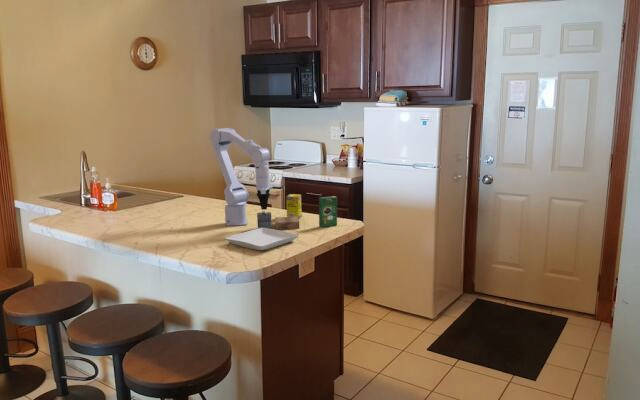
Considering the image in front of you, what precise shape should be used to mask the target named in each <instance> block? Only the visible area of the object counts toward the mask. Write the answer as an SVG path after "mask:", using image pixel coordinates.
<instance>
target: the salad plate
mask: <svg viewBox="0 0 640 400" xmlns="http://www.w3.org/2000/svg"><path fill="white" fill-rule="evenodd" d="M298 237H299V234H296V233H293V232H288V231H283V230H280V229H274V228H272V229H268V228H259V229H258V228H256V229H252V230H248V231H244V232H240V233H237V234H233V235H231V236H230V235H229V236H227V237H225V241H227V242H229V243H230V244H233V245H236V246H240V247H242V248H247V249H250V250H251V249H252V250H254V251H255V250H256V251H268V250H270V249H274V248H276V247H279V246H282V245H285V244H288V243H290V242H293V241H295V240H296V239H297V238H298Z"/></svg>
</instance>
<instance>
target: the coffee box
mask: <svg viewBox="0 0 640 400" xmlns="http://www.w3.org/2000/svg"><path fill="white" fill-rule="evenodd" d="M318 225H319V228H327V227H335V226H338V196H335V195H332V196H321V197H318Z"/></svg>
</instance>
